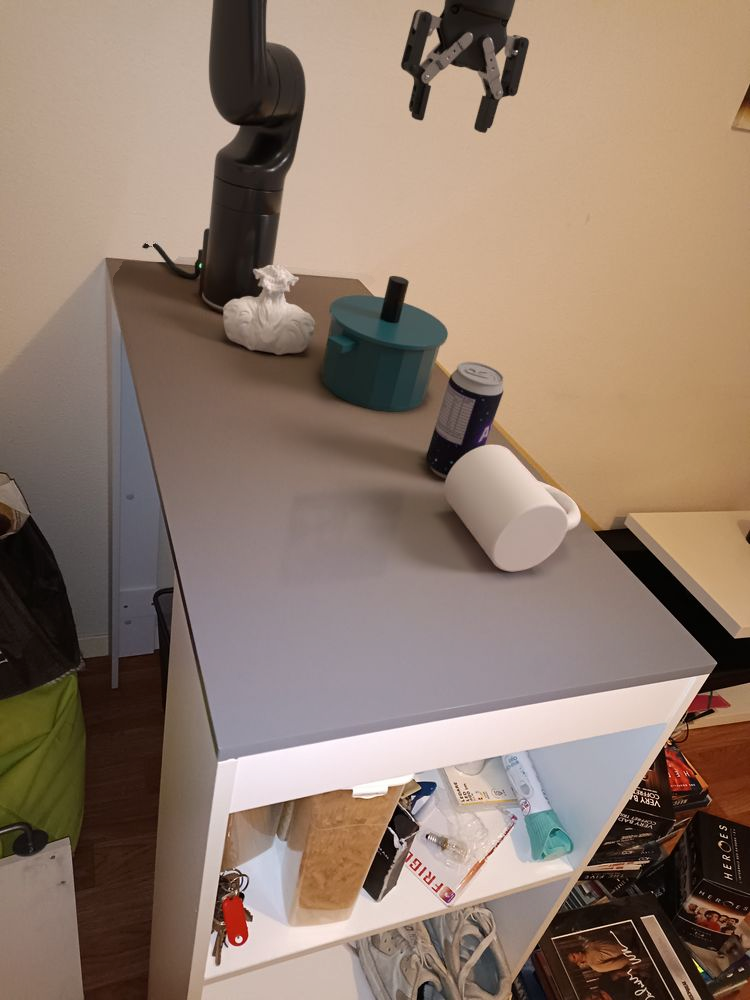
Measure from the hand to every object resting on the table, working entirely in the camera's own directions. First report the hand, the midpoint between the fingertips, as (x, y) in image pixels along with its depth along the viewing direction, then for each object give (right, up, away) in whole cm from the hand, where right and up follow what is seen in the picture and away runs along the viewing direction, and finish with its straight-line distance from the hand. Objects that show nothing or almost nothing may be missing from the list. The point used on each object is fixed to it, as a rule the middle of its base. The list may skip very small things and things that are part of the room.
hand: (448, 125), depth 88 cm
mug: (+4, -49, -14) cm, 51 cm away
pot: (-9, -30, +7) cm, 32 cm away
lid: (-7, -23, +3) cm, 24 cm away
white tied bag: (-23, -24, +10) cm, 35 cm away
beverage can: (-1, -42, -6) cm, 42 cm away
